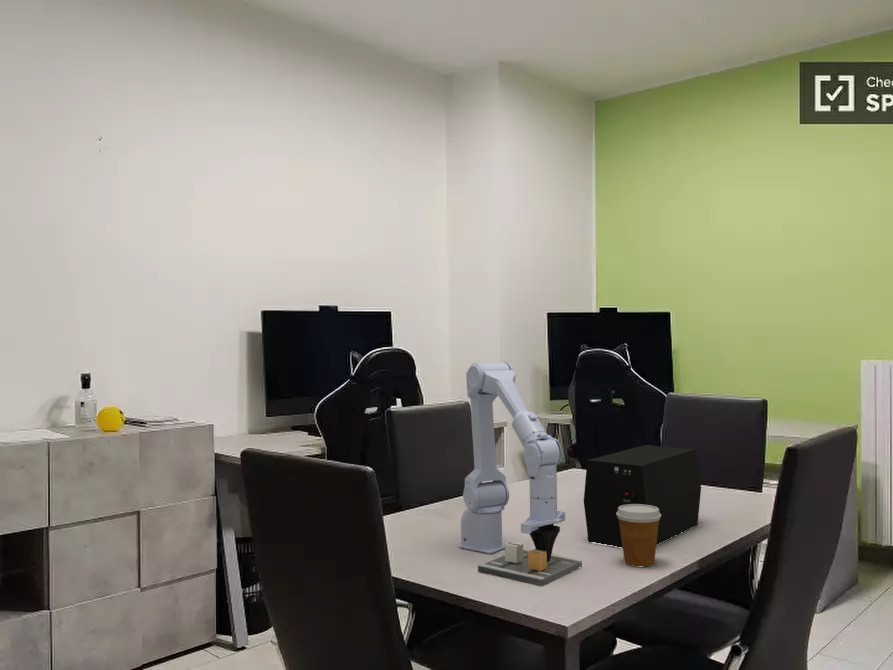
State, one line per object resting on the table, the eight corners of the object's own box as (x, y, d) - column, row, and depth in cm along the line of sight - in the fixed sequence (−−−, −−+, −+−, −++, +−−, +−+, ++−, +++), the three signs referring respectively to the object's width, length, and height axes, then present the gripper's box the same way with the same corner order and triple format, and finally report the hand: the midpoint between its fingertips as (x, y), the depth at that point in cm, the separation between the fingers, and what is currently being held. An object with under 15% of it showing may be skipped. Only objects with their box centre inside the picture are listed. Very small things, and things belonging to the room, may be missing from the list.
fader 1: (505, 560, 166) (504, 544, 166) (511, 558, 168) (511, 541, 168) (516, 563, 164) (516, 546, 164) (523, 560, 166) (522, 543, 166)
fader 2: (528, 568, 161) (527, 551, 161) (534, 565, 163) (534, 548, 163) (540, 570, 159) (540, 553, 159) (546, 568, 161) (546, 550, 161)
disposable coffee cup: (608, 563, 168) (607, 508, 168) (632, 554, 175) (631, 501, 175) (647, 572, 161) (646, 515, 162) (670, 562, 168) (669, 507, 168)
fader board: (478, 571, 164) (477, 564, 164) (520, 554, 176) (520, 548, 176) (542, 586, 154) (541, 578, 154) (582, 567, 166) (582, 560, 166)
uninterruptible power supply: (701, 526, 200) (700, 449, 201) (644, 555, 175) (642, 467, 175) (643, 517, 211) (642, 444, 211) (580, 543, 185) (579, 460, 185)
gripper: (540, 504, 155) (541, 572, 155) (577, 493, 166) (578, 556, 166) (511, 500, 159) (512, 566, 159) (549, 489, 170) (550, 550, 170)
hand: (544, 560), depth 163 cm, fingers closed
